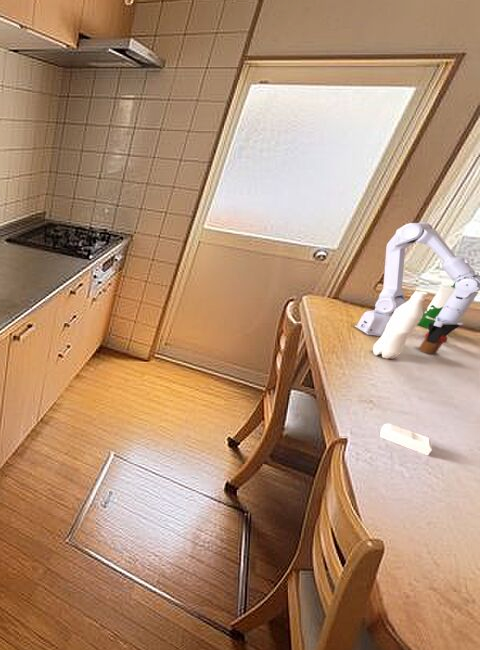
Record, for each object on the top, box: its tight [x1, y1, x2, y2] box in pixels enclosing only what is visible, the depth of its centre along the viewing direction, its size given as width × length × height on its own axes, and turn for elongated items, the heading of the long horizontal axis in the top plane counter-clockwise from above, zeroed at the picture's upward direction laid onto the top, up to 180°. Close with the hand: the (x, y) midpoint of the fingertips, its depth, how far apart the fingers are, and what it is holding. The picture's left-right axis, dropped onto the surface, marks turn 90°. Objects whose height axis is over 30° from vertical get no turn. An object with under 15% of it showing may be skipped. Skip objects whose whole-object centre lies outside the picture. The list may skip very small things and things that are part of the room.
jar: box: [418, 337, 444, 355], centre depth 158 cm, size 5×5×6 cm
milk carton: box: [417, 282, 456, 329], centre depth 178 cm, size 9×9×20 cm
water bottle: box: [372, 290, 428, 360], centre depth 148 cm, size 7×7×25 cm
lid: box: [424, 331, 449, 343], centre depth 157 cm, size 6×6×2 cm
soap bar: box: [380, 423, 433, 457], centre depth 108 cm, size 5×9×3 cm, turn 46°
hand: (433, 341), depth 158 cm, fingers closed on lid, 5 cm apart
